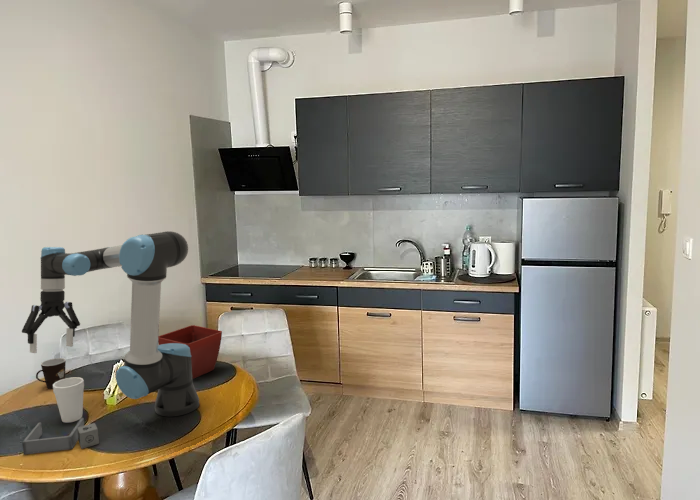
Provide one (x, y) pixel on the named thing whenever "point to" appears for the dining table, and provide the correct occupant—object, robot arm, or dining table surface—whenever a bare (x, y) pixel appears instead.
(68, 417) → the foam cup
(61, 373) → the coffee mug
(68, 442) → the tray
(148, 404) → the dining table surface
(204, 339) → the plant pot
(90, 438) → the grey cube
